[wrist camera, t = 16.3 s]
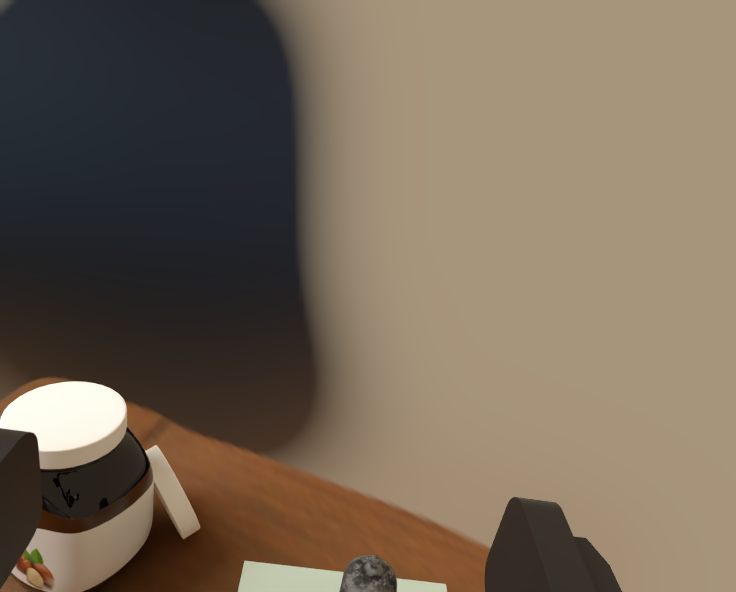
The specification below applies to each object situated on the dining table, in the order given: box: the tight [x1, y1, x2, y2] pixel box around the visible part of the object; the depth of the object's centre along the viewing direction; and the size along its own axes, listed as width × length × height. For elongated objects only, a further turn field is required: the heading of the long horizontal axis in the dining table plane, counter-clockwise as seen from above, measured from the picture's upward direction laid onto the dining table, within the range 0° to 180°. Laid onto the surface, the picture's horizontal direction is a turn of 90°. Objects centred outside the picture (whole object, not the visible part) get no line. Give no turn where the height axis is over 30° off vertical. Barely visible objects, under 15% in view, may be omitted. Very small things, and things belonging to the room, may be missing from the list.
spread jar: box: [0, 382, 200, 592], centre depth 38 cm, size 12×11×12 cm
